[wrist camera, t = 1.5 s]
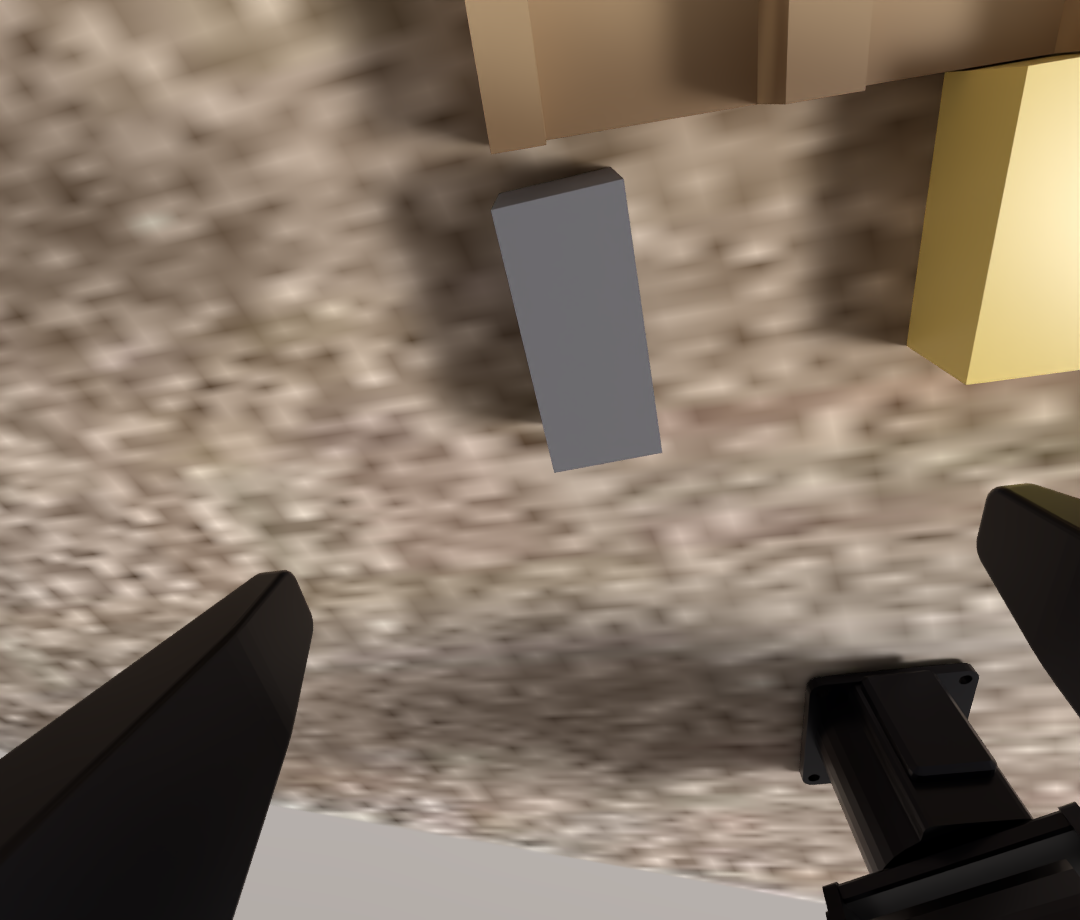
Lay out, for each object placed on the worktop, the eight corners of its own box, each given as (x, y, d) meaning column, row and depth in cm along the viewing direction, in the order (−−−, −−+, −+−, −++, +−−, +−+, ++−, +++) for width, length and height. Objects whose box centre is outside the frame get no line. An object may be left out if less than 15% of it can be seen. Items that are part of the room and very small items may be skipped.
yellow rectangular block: (1007, 328, 19) (1090, 368, 16) (903, 343, 19) (966, 384, 16) (1069, 50, 15) (1187, 38, 12) (940, 72, 15) (1028, 65, 13)
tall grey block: (645, 403, 20) (662, 452, 17) (552, 422, 20) (554, 472, 17) (609, 166, 17) (623, 178, 14) (499, 192, 17) (490, 210, 14)
